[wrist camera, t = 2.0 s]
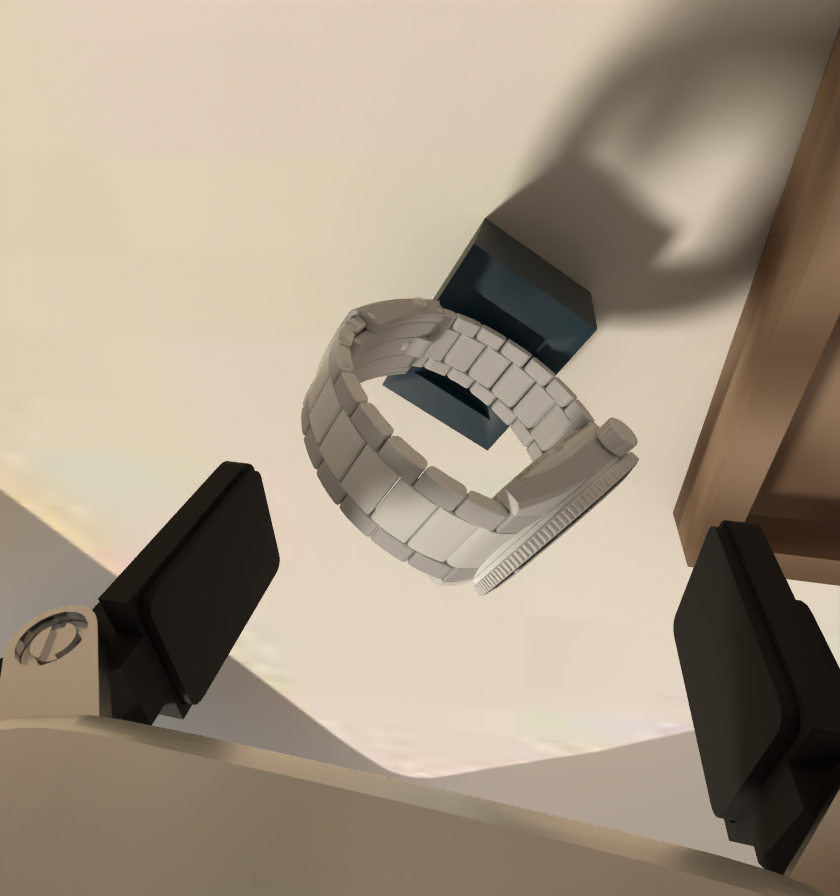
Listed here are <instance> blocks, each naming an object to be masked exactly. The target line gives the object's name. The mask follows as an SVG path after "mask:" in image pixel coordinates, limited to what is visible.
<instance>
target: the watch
mask: <svg viewBox="0 0 840 896" xmlns="http://www.w3.org/2000/svg"><path fill="white" fill-rule="evenodd" d="M596 330H597V325H596V320H595V314H594V309H593V303H592V298H591V293H590V292H589V291H587V290H586V289H584V288H583V287H582V286H580V285H579V284H577V283H576V282H575V281H573V280H572V279H570V278H569V277H568V276H566V275H565V274H563V273H562V272H560V271H559V270H558V269H556V268H555V267H553V266H552V265H551V264H549V263H548V262H546V261H545V260H544V259H542V258H541V257H539V256H538V255H536V254H535V253H534V252H532V251H531V250H529V249H528V248H527V247H525V246H524V245H522V244H521V243H520V242H518V241H517V240H515V239H514V238H512V237H511V236H510V235H508V234H507V233H505V232H504V231H503V230H501V229H500V228H498V227H497V226H496V225H494V224H493V223H491V222H490V221H488V220H487V219H486V218H485V219H484V221H483V222H482V224H481V225H480V227H479V229H478V230H477V232H476V233H475V235H474V236H473V238H472V239H471V241H470V243H469V244H468V246H467V247H466V249H465V250H464V252H463V254H462V255H461V257H460V258H459V260H458V261H457V263H456V264H455V266H454V268H453V269H452V271H451V272H450V274H449V275H448V277H447V279H446V280H445V282H444V283H443V285H442V286H441V288H440V289H439V291H438V293H437V294H436V296H435V297H434V299H433V300H427V299H422V298H414V299H395V300H387V301H381V302H376V303H372V304H368V305H365V306H362V307H359V308H356V309H354V310H351V311H350V312H349V313H348V315H347V316H346V318H345V319H344V321H343V322H342V324H341V325H340V327H339V328H338V330H337V331H336V333H335V335H334V336H333V338H332V340H331V342H330V343H329V345H328V347H327V349H326V351H325V353H324V355H323V357H322V359H321V362H320V364H319V367H318V370H317V373H316V376H315V378H314V380H313V382H312V384H311V386H310V388H309V390H308V392H307V394H306V396H305V399H304V402H303V408H302V416H301V423H302V432H303V434H304V435H305V437H304V441H305V445H306V449H307V452H308V455H309V457H310V460H311V462H312V464H313V467H314V468H315V469H317V470H318V471H317V476H318V478H319V479H320V481H321V483H322V485H323V487H324V488H325V490H326V491H327V493H328V494H329V496H330V497H331V499H332V500H333V501H334V503H335V504H337V505H339V504H341V503H342V504H341V505H340V509H341V511H342V512H343V513H344V514H345V516H346V517H347V518H348V519H349V520H350V521H351V522H352V523H353V524H354V525H355V526H356V527H357V528H358V529H359V530H360V531H361V532H362V533H363V534H364V535H365V536H367V537H369V536H370V535H371V534H372V533H373V532H374V531H375V529H376V528H377V527H378V526H379V528H378V529H377V530H376V531H375V532H374V534H373V535H372V536H371V539H372V541H373V542H374V543H376V544H377V545H378V546H379V547H381V548H382V549H383V550H385V551H386V552H388V553H389V554H391V555H392V556H394V557H395V558H397V559H399V560H400V561H402V562H405V561H406V560H407V559H408V561H407V562H408V564H409V565H410V566H412V567H413V568H415V569H417V570H419V571H421V572H423V573H425V574H427V575H428V577H429V578H430V579H431V580H432V582H433V583H435V584H438V585H448V586H450V585H461V584H464V583H468V582H471V581H473V582H474V584H475V586H474V588H473V589H474V590H475V591H476V593H477V594H478V595H479V596H482V595H485V594H487V593H488V592H490V591H492V590H493V589H495V588H497V587H499V586H500V585H502V584H503V583H505V582H506V581H507V580H509V579H510V578H511V577H513V576H514V575H515V574H516V573H518V572H519V571H520V570H521V569H523V568H524V567H525V566H526V565H527V564H529V563H530V562H531V561H532V560H533V559H535V558H536V557H537V556H538V555H539V554H541V553H542V552H543V551H544V550H545V549H547V548H548V547H549V546H550V545H551V544H552V543H554V542H555V541H556V540H557V539H558V538H559V537H561V536H562V535H563V534H564V533H565V532H566V531H568V530H569V529H570V528H571V527H572V526H573V525H575V524H576V523H577V522H578V521H579V520H580V519H581V518H583V517H584V516H585V515H586V514H587V513H588V512H589V511H591V510H592V509H593V508H594V507H595V506H596V505H597V504H598V503H600V502H601V501H602V500H603V499H604V498H605V497H606V496H607V495H608V494H609V493H611V492H612V491H613V490H614V489H615V488H616V487H617V486H618V485H619V484H620V483H621V482H622V481H623V480H624V479H625V478H626V476H627V475H628V474H629V473H630V471H631V470H632V469H633V468H634V467H635V466H636V464H637V462H638V460H639V458H638V457H637V456H636V455H635V454H634V453H633V452H630V453H628V452H629V451H630V450H631V449H632V448H633V447H635V446H636V445H637V443H638V442H637V438H636V436H635V434H634V433H633V432H632V430H631V429H630V428H629V427H628V426H627V425H625V424H624V423H623V422H621V421H620V420H618V419H616V418H615V419H614V418H610V419H608V420H607V421H606V422H605V423H604V424H603V425H602V426H601V427H598V426H597V425H596V423H594V419H593V417H592V416H591V415H590V413H589V412H588V411H587V409H586V408H585V407H584V406H583V404H582V403H581V402H580V401H579V400H577V399H576V398H577V396H576V395H575V394H574V393H573V392H572V391H571V390H570V389H569V388H568V387H567V386H566V385H565V384H564V383H563V382H562V381H561V380H560V379H559V378H558V377H556V378H555V376H556V374H557V373H558V372H559V371H560V370H561V369H562V368H563V367H564V365H565V364H566V363H567V362H568V361H569V360H570V359H571V358H572V357H573V355H574V354H575V353H576V352H577V351H578V350H579V349H580V348H581V347H582V345H583V344H584V343H585V342H586V341H587V340H588V339H589V338H590V337H591V336H592V334H593V333H594V332H595V331H596ZM382 376H387V377H386V379H385V381H384V383H383V386H385V387H387V388H388V389H390V390H391V391H393V392H395V393H396V394H398V395H399V396H401V397H403V398H404V399H406V400H407V401H409V402H411V403H412V404H414V405H415V406H417V407H419V408H420V409H422V410H423V411H425V412H427V413H428V414H430V415H432V416H433V417H435V418H436V419H438V420H440V421H441V422H443V423H444V424H446V425H448V426H449V427H451V428H452V429H454V430H456V431H457V432H459V433H460V434H462V435H464V436H465V437H467V438H468V439H470V440H472V441H473V442H475V443H476V444H478V445H480V446H481V447H483V448H484V449H486V450H489V448H490V447H491V446H492V445H493V444H494V443H495V442H496V441H497V440H498V438H499V437H500V436H501V435H502V434H503V433H504V432H505V431H506V430H507V428H508V427H509V426H510V425H512V426H511V430H512V431H513V433H514V434H515V435H516V437H517V438H518V439H519V441H520V442H521V444H522V445H523V446H525V447H528V448H527V449H526V450H527V453H528V455H529V456H530V458H531V460H532V462H533V463H531V464H530V465H529V466H528V467H527V468H525V469H524V470H523V471H522V472H521V473H520V474H518V475H517V476H516V477H515V478H514V479H513V480H512V481H510V482H509V483H508V484H507V485H506V486H505V487H504V488H503V489H502V490H500V491H499V492H498V493H497V494H496V495H495V496H494V497H493V498H492V499H490V498H488V497H486V496H484V495H482V494H480V493H477V492H475V491H470V492H469V493H468V494H467V490H466V487H465V486H464V485H463V484H462V483H460V482H458V481H457V480H455V479H453V478H451V477H450V476H448V475H447V474H445V473H444V472H442V471H441V470H439V469H438V468H436V467H433V466H431V467H428V468H427V469H426V471H425V472H424V473H423V474H422V475H421V473H422V472H423V471H424V470H425V468H426V467H427V461H426V459H425V458H424V457H423V456H421V455H420V454H419V453H418V452H417V451H415V450H414V449H413V448H412V447H411V446H410V445H409V444H407V443H406V442H405V441H404V440H403V439H402V438H401V437H399V436H392V437H391V435H392V434H393V428H392V427H391V426H390V424H389V423H388V422H387V421H386V420H385V419H384V417H383V416H382V415H381V414H380V413H379V411H378V410H377V409H376V407H375V406H374V405H372V404H371V403H367V401H368V397H367V395H366V393H365V392H364V390H363V389H362V387H361V385H360V383H361V382H364V381H366V380H369V379H373V378H377V377H382ZM549 383H550V384H549ZM548 384H549V385H548ZM547 385H548V386H547ZM517 418H518V419H517ZM420 475H421V477H420V478H419V479H418V477H419V476H420ZM399 477H401V478H400V479H399V481H398V482H397V483H396V485H395V486H394V487H393V488H392V490H391V491H390V492H389V493H388V495H387V496H386V497H385V498H384V496H385V495H386V494H387V492H388V491H389V490H390V489H391V487H392V486H393V485H394V484H395V482H396V481H397V480H398V478H399ZM466 494H467V495H466ZM383 498H384V500H383V501H382V502H381V503H380V501H381V500H382V499H383ZM379 503H380V505H379V506H378V507H377V509H375V508H376V506H377V505H378V504H379Z"/></svg>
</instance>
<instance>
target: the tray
mask: <svg viewBox="0 0 840 896" xmlns="http://www.w3.org/2000/svg"><path fill="white" fill-rule="evenodd" d="M673 515H674V518H675V522H676V526H677V529H678V533H679V536H680V540H681V544H682V547H683V551H684V554H685V558H686V562H687V565H688V567H694V566H695V563H696V561H697V558H698V555H699V553H700V550H701V548H702V545H703V542H704V540H705V537H706V535H707V532H708V530H709V528H710V527H711V526H715V527H719V525H720V523H721V522H722V521H724V520H729V521H738V522H746V523H755V524H758V525H760V527H761V528H762V530H763V532H764V534H765V536H766V538H767V540H768V543H769V545H770V547H771V549H772V551H773V553H774V555H775V557H776V559H777V562H778V564H779V566H780V568H781V570H782V572H783V574H784V576H785V578H786V579H791V580H799V581H807V582H815V583H823V584H831V585H839V586H840V30H839V33H838V36H837V39H836V42H835V44H834V47H833V50H832V53H831V56H830V59H829V62H828V65H827V68H826V71H825V73H824V76H823V79H822V82H821V85H820V88H819V91H818V94H817V97H816V100H815V103H814V105H813V108H812V111H811V114H810V117H809V120H808V123H807V126H806V129H805V132H804V134H803V137H802V140H801V143H800V146H799V149H798V152H797V155H796V158H795V161H794V163H793V166H792V169H791V172H790V175H789V178H788V181H787V184H786V187H785V190H784V192H783V195H782V198H781V201H780V204H779V207H778V210H777V213H776V216H775V219H774V221H773V224H772V227H771V230H770V233H769V236H768V239H767V242H766V245H765V248H764V250H763V253H762V256H761V259H760V262H759V265H758V268H757V271H756V274H755V277H754V280H753V282H752V285H751V288H750V291H749V294H748V297H747V300H746V303H745V306H744V309H743V311H742V314H741V317H740V320H739V323H738V326H737V329H736V332H735V335H734V338H733V340H732V343H731V346H730V349H729V352H728V355H727V358H726V361H725V364H724V367H723V369H722V372H721V375H720V378H719V381H718V384H717V387H716V390H715V393H714V396H713V398H712V401H711V404H710V407H709V410H708V413H707V416H706V419H705V422H704V425H703V427H702V430H701V433H700V436H699V439H698V442H697V445H696V448H695V451H694V454H693V457H692V459H691V462H690V465H689V468H688V471H687V474H686V477H685V480H684V483H683V486H682V488H681V491H680V494H679V497H678V500H677V503H676V506H675V509H674V512H673Z"/></svg>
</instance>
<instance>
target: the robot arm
mask: <svg viewBox="0 0 840 896" xmlns="http://www.w3.org/2000/svg"><path fill="white" fill-rule="evenodd" d="M279 562H280V557H279V552H278V548H277V543H276V539H275V535H274V530H273V526H272V522H271V517H270V513H269V509H268V504H267V500H266V496H265V491H264V487H263V483H262V478H261V475H260V473H259V472H258V471H255V470H254V467H253V466H252V465H251V464H247V463H238V462H230V461H226V462H223V463H222V464H220V466H219V467H218V468H217V469H216V470H215V471H214V472H213V473H212V474H211V475H210V477H209V478H208V479H207V480H206V481H205V482H204V483H203V484H202V485H201V486H200V488H199V489H198V490H197V491H196V492H195V493H194V494H193V495H192V496H191V497H190V498H189V500H188V501H187V502H186V503H185V504H184V505H183V506H182V507H181V508H180V509H179V511H178V512H177V513H176V514H175V515H174V516H173V517H172V518H171V519H170V520H169V522H168V523H167V524H166V525H165V526H164V527H163V528H162V529H161V530H160V531H159V533H158V534H157V535H156V536H155V537H154V538H153V539H152V540H151V541H150V542H149V543H148V545H147V546H146V547H145V548H144V549H143V550H142V551H141V552H140V553H139V554H138V556H137V557H136V558H135V559H134V560H133V561H132V562H131V563H130V564H129V565H128V567H127V568H126V569H125V570H124V571H123V572H122V573H121V574H120V575H119V576H118V578H117V579H116V580H115V581H114V582H113V583H112V584H111V585H110V586H109V588H107V590H106V591H105V592H104V593H103V594H102V595H101V596H100V597H99V598H98V599H99V601H100V602H99V603H98V604H97V605H96V606H95V608H94V609H93V610H91V609H90V608H88V607H84V606H81V605H69V606H68V605H67V606H63V607H59V608H55V609H52V610H50V611H48V612H45V613H43V614H41V615H39V616H37V617H36V618H34V619H33V620H31V621H29V622H28V623H26V624H25V625H24V626H23V627H22V628H21V629H20V630H19V631H18V632H16V633H15V635H14V636H13V638H12V639H11V640H10V642H9V643H8V645H7V647H6V650H5V653H4V657H3V658H1V659H0V896H840V668H839V666H838V664H837V662H836V660H835V658H834V656H833V654H832V652H831V650H830V648H829V646H828V644H827V642H826V640H825V638H824V636H823V634H822V632H821V630H820V628H819V626H818V624H817V622H816V620H815V618H814V616H813V614H812V612H811V611H810V609H809V607H808V606H807V605H806V604H805V603H803V602H802V601H799V600H796V599H795V597H794V595H793V593H792V591H791V589H790V587H789V585H788V583H787V581H786V578H785V576H784V574H783V572H782V570H781V568H780V566H779V564H778V562H777V559H776V557H775V555H774V553H773V551H772V549H771V547H770V545H769V543H768V540H767V538H766V536H765V534H764V532H763V530H762V528H761V527H760V525H758V524H755V523H746V522H738V521H729V520H724V521H722V522H721V523H720V525H719V527H715V526H711V527H710V528H709V530H708V532H707V535H706V537H705V540H704V542H703V545H702V548H701V550H700V553H699V555H698V558H697V561H696V563H695V566H694V568H693V571H692V574H691V576H690V579H689V581H688V584H687V587H686V589H685V592H684V594H683V597H682V600H681V602H680V605H679V607H678V610H677V613H676V615H675V619H674V637H675V642H676V647H677V651H678V656H679V660H680V665H681V670H682V674H683V679H684V683H685V688H686V692H687V697H688V702H689V706H690V711H691V715H692V720H693V725H694V729H695V733H696V738H697V743H698V747H699V752H700V757H701V761H702V766H703V770H704V775H705V780H706V784H707V789H708V793H709V798H710V803H711V806H712V810H713V812H714V814H715V815H716V817H718V818H723V819H724V821H725V825H726V829H727V833H728V838H729V841H733V842H737V843H742V844H746V845H751V846H754V848H755V852H756V856H757V860H758V863H759V864H760V865H761V866H762V867H763V868H764V869H762V868H759V867H756V866H752V865H749V864H745V863H742V862H739V861H735V860H732V859H729V858H725V857H722V856H718V855H715V854H711V853H707V852H703V851H699V850H694V849H691V848H686V847H683V846H679V845H675V844H671V843H666V842H663V841H658V840H655V839H651V838H647V837H643V836H638V835H634V834H630V833H627V832H623V831H619V830H614V829H610V828H606V827H602V826H597V825H593V824H588V823H584V822H580V821H575V820H571V819H567V818H563V817H558V816H554V815H549V814H545V813H541V812H537V811H532V810H528V809H524V808H520V807H515V806H511V805H507V804H502V803H498V802H494V801H489V800H485V799H481V798H476V797H472V796H468V795H463V794H459V793H454V792H450V791H445V790H441V789H437V788H433V787H428V786H424V785H419V784H415V783H411V782H406V781H402V780H397V779H393V778H389V777H384V776H380V775H375V774H371V773H366V772H362V771H357V770H353V769H348V768H344V767H340V766H335V765H331V764H327V763H322V762H318V761H313V760H309V759H304V758H300V757H295V756H291V755H286V754H282V753H277V752H272V751H268V750H263V749H259V748H254V747H250V746H245V745H241V744H236V743H231V742H227V741H223V740H218V739H213V738H209V737H204V736H200V735H196V734H191V733H186V732H181V731H175V730H171V729H166V728H161V727H156V726H152V724H153V722H154V721H155V719H156V717H157V716H158V714H161V715H165V716H170V717H174V718H179V719H184V717H185V716H186V714H187V712H188V711H189V709H190V707H191V706H192V704H193V705H195V704H198V703H199V702H200V701H201V700H202V698H203V697H204V695H205V694H206V692H207V690H208V688H209V687H210V685H211V683H212V681H213V680H214V678H215V677H216V675H217V673H218V671H219V670H220V668H221V666H222V665H223V663H224V661H225V660H226V658H227V656H228V654H229V653H230V651H231V649H232V648H233V646H234V644H235V642H236V641H237V639H238V637H239V636H240V634H241V632H242V631H243V629H244V627H245V625H246V624H247V622H248V620H249V619H250V617H251V615H252V614H253V612H254V610H255V608H256V607H257V605H258V603H259V602H260V600H261V598H262V596H263V595H264V593H265V591H266V590H267V588H268V586H269V585H270V583H271V581H272V579H273V578H274V576H275V574H276V572H277V570H278V567H279Z"/></svg>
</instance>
